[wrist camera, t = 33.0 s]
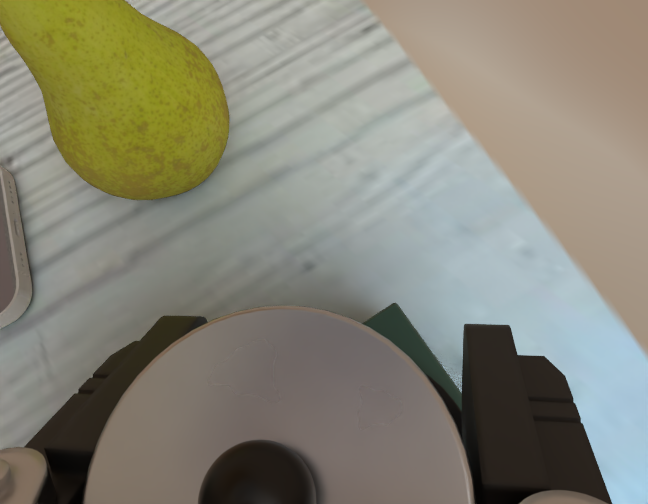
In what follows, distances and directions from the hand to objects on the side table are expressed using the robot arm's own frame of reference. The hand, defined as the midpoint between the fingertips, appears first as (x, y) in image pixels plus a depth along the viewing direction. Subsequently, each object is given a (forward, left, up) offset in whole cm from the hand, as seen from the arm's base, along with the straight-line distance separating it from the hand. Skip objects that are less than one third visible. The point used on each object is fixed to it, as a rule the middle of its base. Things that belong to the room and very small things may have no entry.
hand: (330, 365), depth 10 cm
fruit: (-11, +6, -8) cm, 15 cm away
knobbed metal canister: (+1, -2, -4) cm, 5 cm away
